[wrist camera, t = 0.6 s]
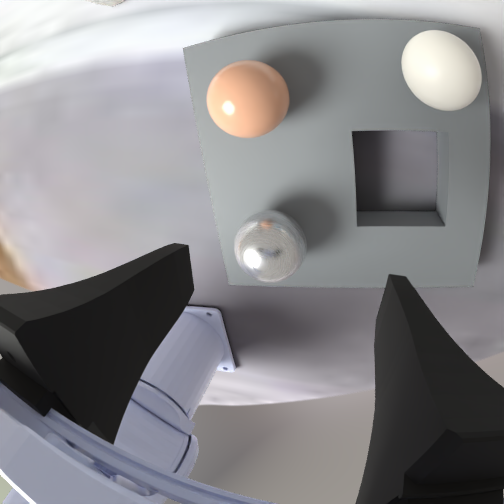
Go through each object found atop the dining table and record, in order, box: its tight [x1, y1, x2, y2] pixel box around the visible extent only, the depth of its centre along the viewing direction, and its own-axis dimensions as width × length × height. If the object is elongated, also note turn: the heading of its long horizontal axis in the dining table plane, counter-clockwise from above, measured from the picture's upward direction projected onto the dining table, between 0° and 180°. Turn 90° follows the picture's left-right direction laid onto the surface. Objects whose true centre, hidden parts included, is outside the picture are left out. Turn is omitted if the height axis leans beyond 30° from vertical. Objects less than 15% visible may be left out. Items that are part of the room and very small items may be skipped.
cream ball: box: [401, 30, 482, 111], centre depth 10 cm, size 4×4×4 cm
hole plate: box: [183, 19, 490, 288], centre depth 17 cm, size 17×16×2 cm
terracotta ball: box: [207, 60, 290, 138], centre depth 14 cm, size 4×4×4 cm
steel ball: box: [234, 210, 307, 283], centre depth 17 cm, size 4×4×4 cm
